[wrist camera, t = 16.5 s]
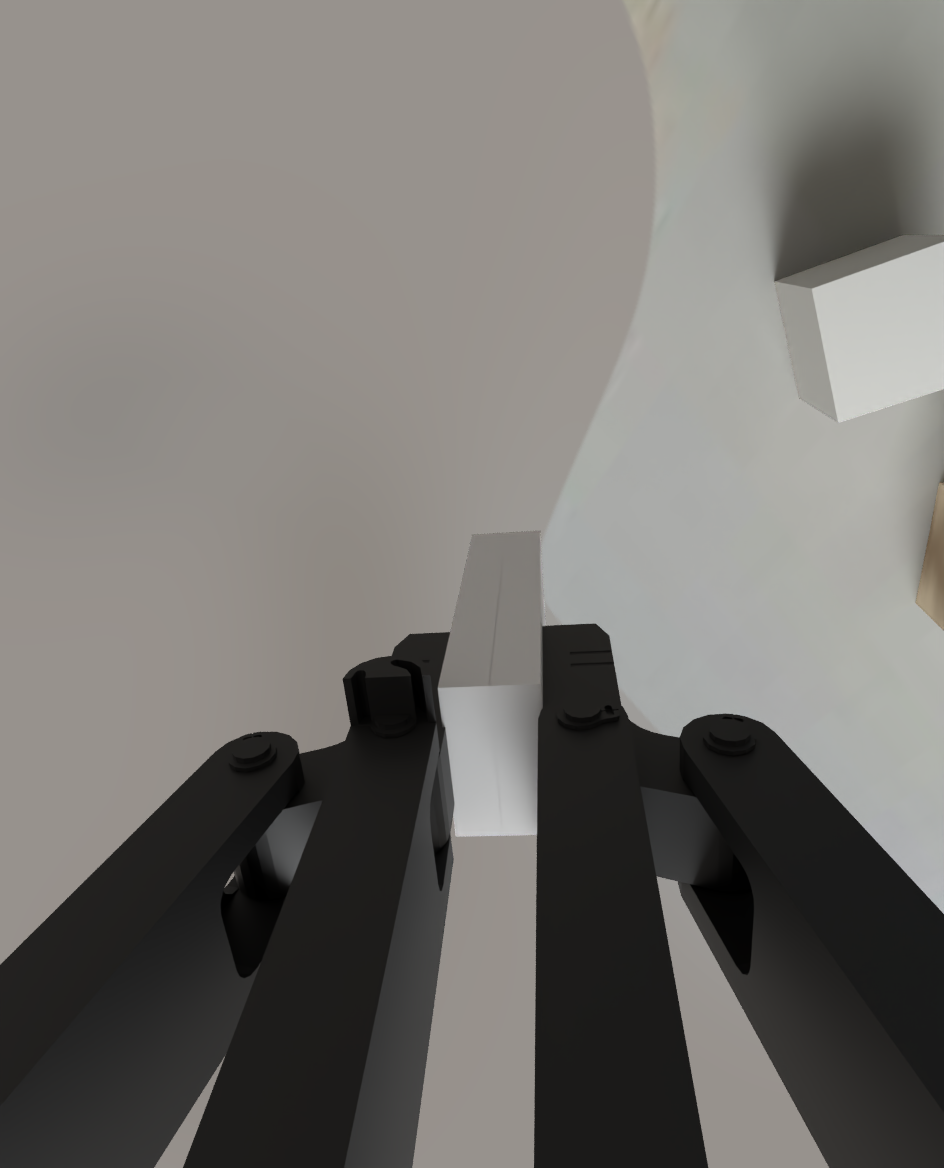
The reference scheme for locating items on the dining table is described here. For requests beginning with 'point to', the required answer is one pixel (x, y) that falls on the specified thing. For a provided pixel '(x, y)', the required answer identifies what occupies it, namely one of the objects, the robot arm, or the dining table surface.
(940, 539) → the beech block
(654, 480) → the dining table surface
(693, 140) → the dining table surface
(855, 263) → the grey block
